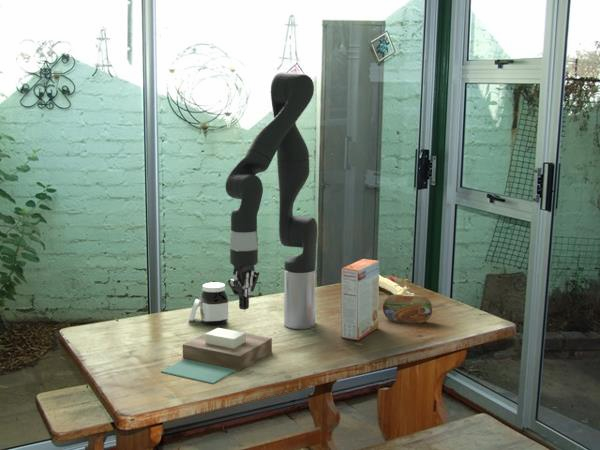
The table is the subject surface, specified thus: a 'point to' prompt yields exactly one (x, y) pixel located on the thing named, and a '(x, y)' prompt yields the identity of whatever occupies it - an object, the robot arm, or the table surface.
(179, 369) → the mat
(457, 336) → the table surface
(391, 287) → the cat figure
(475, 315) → the table surface
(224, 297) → the spread jar
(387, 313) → the tin
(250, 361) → the brown wooden board
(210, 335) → the tile
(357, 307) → the cracker box
